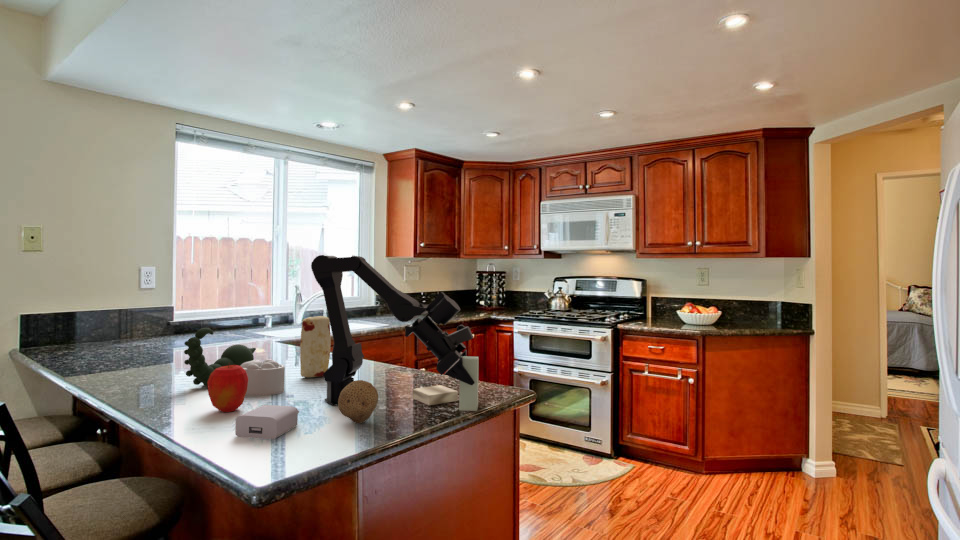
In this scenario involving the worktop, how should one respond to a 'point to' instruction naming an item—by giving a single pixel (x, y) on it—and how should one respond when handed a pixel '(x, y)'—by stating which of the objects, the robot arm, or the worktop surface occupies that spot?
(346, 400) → the natural sponge
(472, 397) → the green pillar
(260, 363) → the lumpy-topped squat cylinder
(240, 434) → the charger
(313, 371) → the food model
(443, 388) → the birch block
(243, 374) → the apple
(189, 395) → the worktop surface
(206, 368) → the toy figurine
